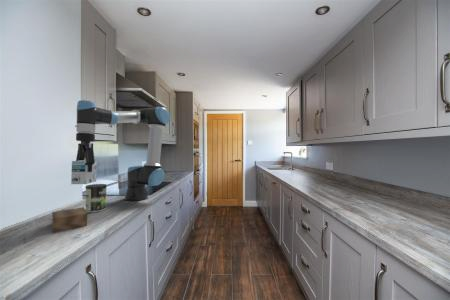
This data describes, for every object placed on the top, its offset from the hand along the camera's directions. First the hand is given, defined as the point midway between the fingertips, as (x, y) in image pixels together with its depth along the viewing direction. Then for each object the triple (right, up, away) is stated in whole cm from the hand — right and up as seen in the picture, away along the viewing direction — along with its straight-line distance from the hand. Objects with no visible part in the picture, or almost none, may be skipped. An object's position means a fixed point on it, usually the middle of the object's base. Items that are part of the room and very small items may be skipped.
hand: (84, 177), depth 99 cm
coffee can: (-6, -21, +19) cm, 29 cm away
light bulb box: (0, -3, 0) cm, 3 cm away
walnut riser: (-4, -22, -4) cm, 22 cm away
